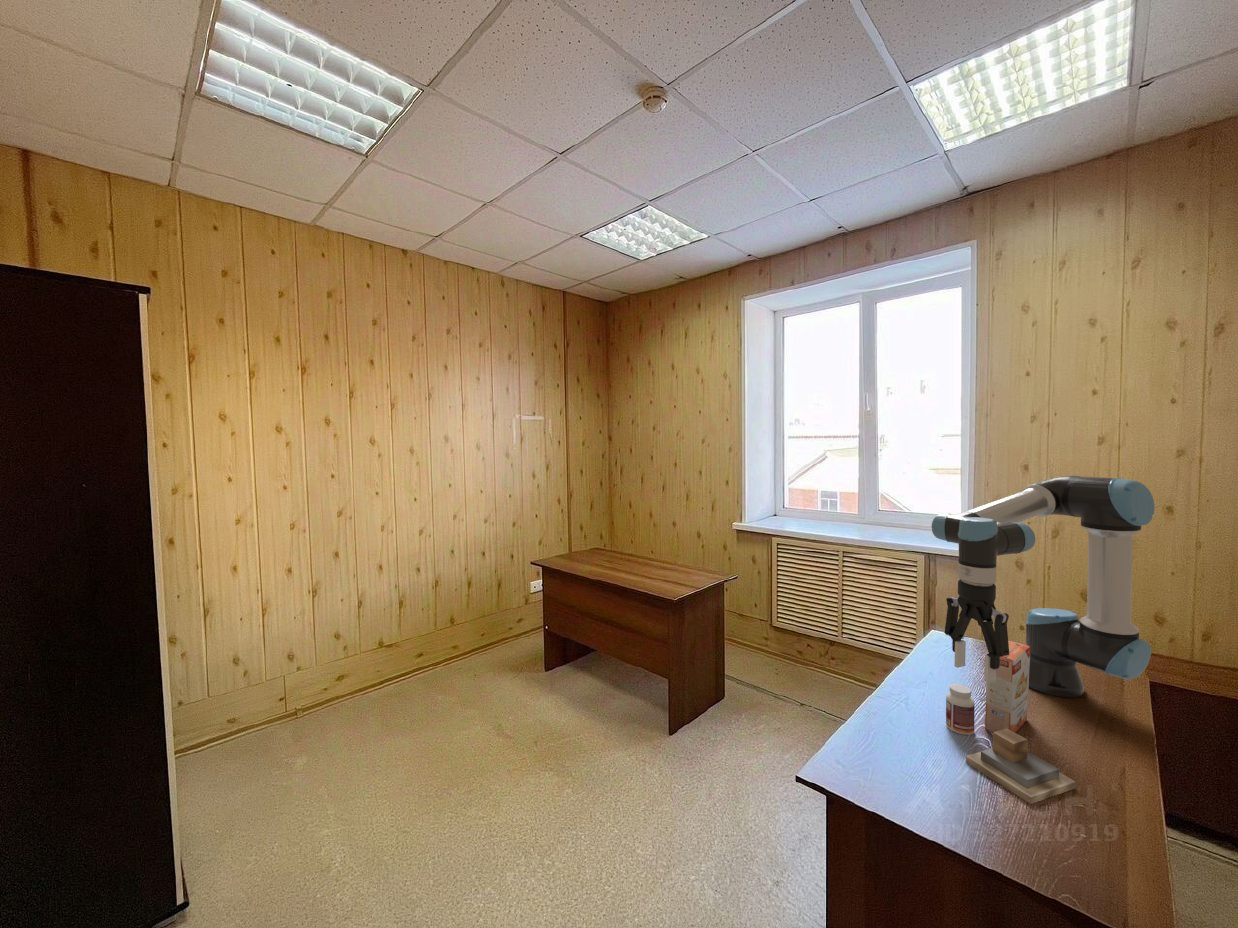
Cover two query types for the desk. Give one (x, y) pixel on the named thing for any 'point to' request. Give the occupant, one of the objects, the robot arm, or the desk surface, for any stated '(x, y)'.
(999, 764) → the podium
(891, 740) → the desk surface
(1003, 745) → the walnut cube
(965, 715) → the pill bottle
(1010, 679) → the cracker box
